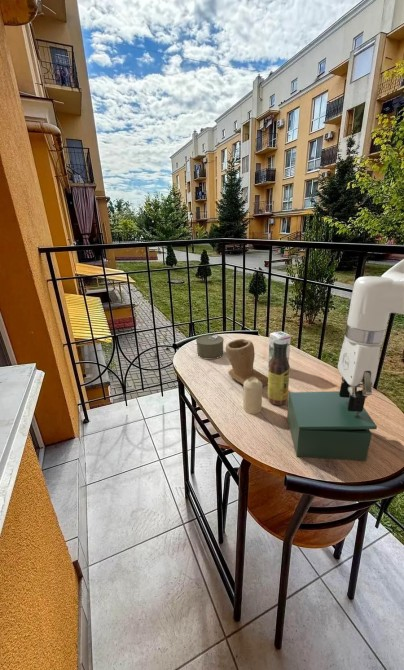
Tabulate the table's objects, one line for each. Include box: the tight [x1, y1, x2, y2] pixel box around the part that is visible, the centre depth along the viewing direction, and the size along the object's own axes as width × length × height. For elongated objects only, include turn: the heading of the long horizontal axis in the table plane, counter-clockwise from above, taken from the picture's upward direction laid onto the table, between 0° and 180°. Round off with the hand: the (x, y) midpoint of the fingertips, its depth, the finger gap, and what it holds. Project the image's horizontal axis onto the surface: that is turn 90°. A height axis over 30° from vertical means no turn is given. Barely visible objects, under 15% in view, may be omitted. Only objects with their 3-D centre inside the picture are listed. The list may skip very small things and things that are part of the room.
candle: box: [242, 377, 263, 414], centre depth 84 cm, size 6×6×10 cm
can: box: [195, 334, 224, 359], centre depth 124 cm, size 12×12×7 cm
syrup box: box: [267, 330, 292, 368], centre depth 107 cm, size 6×6×14 cm
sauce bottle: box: [267, 340, 291, 406], centre depth 86 cm, size 7×6×20 cm
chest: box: [286, 395, 372, 462], centre depth 71 cm, size 16×15×8 cm
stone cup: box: [225, 338, 268, 387], centre depth 99 cm, size 15×12×15 cm
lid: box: [288, 386, 378, 430], centre depth 69 cm, size 16×15×5 cm
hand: (350, 402), depth 68 cm, fingers closed on lid, 5 cm apart
